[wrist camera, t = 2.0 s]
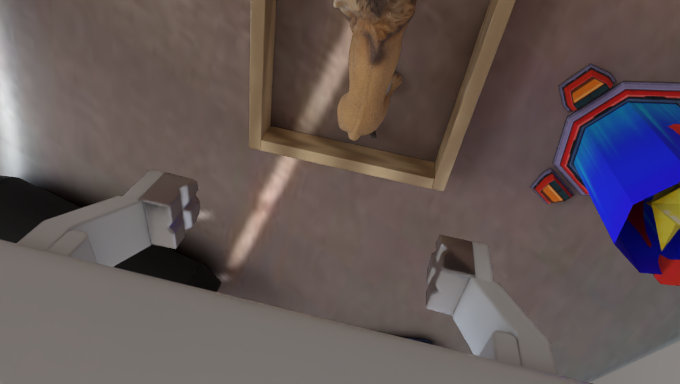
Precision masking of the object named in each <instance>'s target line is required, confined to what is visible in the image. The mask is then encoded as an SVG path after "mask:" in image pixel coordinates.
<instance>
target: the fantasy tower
mask: <svg viewBox="0 0 680 384" xmlns="http://www.w3.org/2000/svg"><path fill="white" fill-rule="evenodd" d="M615 81H616V80H615V79H614V77H613V76H612V75H611V73H609V72H607V71H605V70H603V69H601V68H598V67H596V66H594V65H592V64H589V65H588V66H587V67H585V68H584V69H582V70H581V71H579V72H578V73H576V74H575V75H574V76H572V77H571V78H569V79H568V80H566V81H565V82H563V83H562V84H561V85H559V90H560V95H561V100H562V104H563V106H564V107H565V109H566V110H567V111H568V112H569V111H573V110H577V109H579V108H580V107H582V106H583V105H585V104H587V103H588V102H590V101H591V100H593V99H594V98H596V97H597V96H599V95H601V94H602V93H604V92H605V91H607V90H608V89H610V88H611V87H612V85H613V84H614V83H615ZM553 164H554V166H555V167H556V168H557V169H558V170H559V171H560V172H561V173H562V175H563V176H564V177H565V178H566V179H567V180H568V181H569V183H570V184H571V185H572V186H573V187H574V188H575V189H576V190H577V192H578V193H579V194H580V195H590V197H591V199H592V201H593V203H594V205H595V207H596V209H597V211H598V213H599V215H600V217H601V219H602V221H603V223H604V225H605V227H606V229H607V231H608V233H609V235H610V237H611V239H612V241H613V243H614V244H615V246H616V247H617V248H618V249H619V250H620V251H621V252H622V253H623V254H624V256H625V257H626V258H627V259H628V260H629V261H630V262H631V263H632V264H633V266H634V267H635V268H636V269H637V270H638V271H639V272H640V273H651V274H654V277H655V278H656V279H657V280H658V281H659V283H660V284H666V285H676V286H680V83H666V82H629V81H623V82H621V83H620V84H618V85H616V86H615V87H613V88H612V89H610V90H609V91H607V92H605V93H604V94H602V95H601V96H599V97H598V98H596V99H595V100H593V101H591V102H590V103H588V104H587V105H585V106H584V107H582V108H581V109H579V110H577V111H576V112H574V113H573V114H571V115H570V116H568V117H567V118H566V122H565V125H564V128H563V131H562V134H561V138H560V141H559V144H558V147H557V151H556V154H555V157H554V160H553ZM530 187H531V188H532V189H533V190H534V192H535V193H536V194H537V195H538V196H539V197H540V198H541V199H542V200H543V201H544V202H545V203H546V204H548V203H555V202H561V201H566V200H567V199H569V198H571V197H572V196H573V195H574V194H573V192H572V191H571V190H570V189H569V188H568V187H567V186H566V185H565V184H564V182H563V181H562V180H561V179H560V178H559V177H558V176H557V175H556V173H555V172H554V171H553V170H552V169H551V168H550V169H548V170H547V171H545V172H543V173H542V174H541V175H540V176H539V177H538V178H537V180H536V181H535V182H534V183H533V184H532V185H531V186H530Z"/></svg>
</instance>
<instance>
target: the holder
mask: <svg viewBox="0 0 680 384" xmlns="http://www.w3.org/2000/svg"><path fill="white" fill-rule="evenodd" d="M276 1H277V0H251V27H250V103H249V148H252V149H257V150H261V151H265V152H270V153H274V154H279V155H283V156H287V157H292V158H296V159H301V160H305V161H310V162H314V163H318V164H323V165H327V166H332V167H336V168H341V169H345V170H350V171H354V172H358V173H363V174H367V175H372V176H376V177H381V178H385V179H389V180H394V181H398V182H403V183H407V184H412V185H416V186H420V187H425V188H429V189H431V188H432V189H434V190H439V191H444V189H445V187H446V184H447V181H448V179H449V176H450V173H451V171H452V168H453V165H454V163H455V160H456V158H457V155H458V152H459V150H460V147H461V144H462V142H463V139H464V136H465V134H466V131H467V128H468V126H469V123H470V121H471V118H472V115H473V113H474V110H475V107H476V105H477V102H478V99H479V97H480V94H481V92H482V89H483V86H484V84H485V81H486V78H487V76H488V73H489V70H490V68H491V65H492V62H493V60H494V57H495V55H496V52H497V49H498V47H499V44H500V41H501V39H502V36H503V33H504V31H505V28H506V26H507V23H508V20H509V18H510V15H511V12H512V10H513V7H514V4H515V2H516V0H490V3H489V6H488V9H487V12H486V15H485V18H484V20H483V23H482V26H481V29H480V32H479V35H478V38H477V41H476V44H475V47H474V50H473V52H472V55H471V58H470V61H469V64H468V67H467V70H466V73H465V76H464V79H463V82H462V84H461V87H460V90H459V93H458V96H457V99H456V102H455V105H454V108H453V111H452V114H451V117H450V119H449V122H448V125H447V128H446V131H445V134H444V137H443V140H442V143H441V146H440V149H439V151H438V154H437V157H436V160H435V163H434V162H431V161H426V160H422V159H417V158H413V157H408V156H404V155H399V154H395V153H390V152H386V151H381V150H377V149H372V148H368V147H363V146H359V145H354V144H350V143H345V142H341V141H336V140H332V139H327V138H323V137H318V136H314V135H309V134H304V133H300V132H295V131H291V130H286V129H282V128H277V127H273V126H270V125H271V104H272V83H273V63H274V42H275V21H276Z"/></svg>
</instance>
